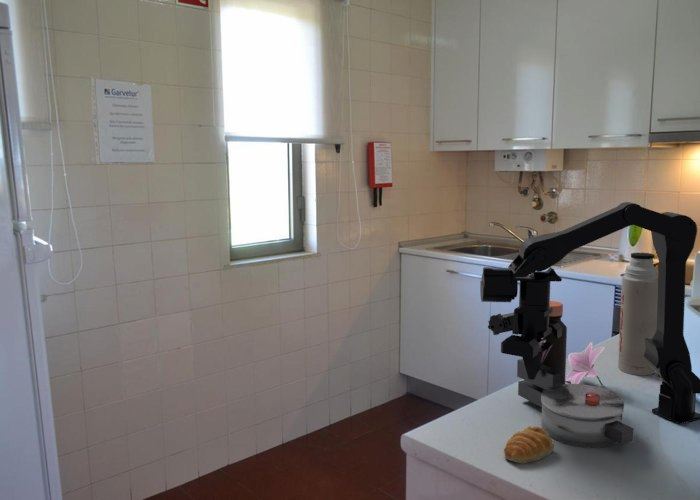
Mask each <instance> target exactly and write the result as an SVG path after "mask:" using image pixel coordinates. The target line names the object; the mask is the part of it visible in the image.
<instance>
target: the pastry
mask: <svg viewBox="0 0 700 500" xmlns="http://www.w3.org/2000/svg"><path fill="white" fill-rule="evenodd" d="M505 445H506V446H505V447H504V450H503V453H504V458H505V459H506V460H509V461H511V462H515V463H516V464H517V463H518V464H520V465H521V464H522V465H523V464H526V463H531V462H537V461H540V460H541V459H543V458H545V457H547V456H548V455H551V453H552V452H553V451H554V450H555V444H554V443H553V441H552V438H551V437H550V436H549V435H548V433H547V432H546V431H545V430H543V429H542V427H540V426H533V427H532V426H528V427H527V428H524V429H523V430H520V431H517V432H515V433H514V434H513V435H512V436H511V437H510V438H509V439H508V441H507V442H506V444H505Z"/></svg>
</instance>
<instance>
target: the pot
mask: <svg viewBox="0 0 700 500" xmlns="http://www.w3.org/2000/svg"><path fill="white" fill-rule="evenodd" d="M517 387H518V388H517V396H519V397H521V398H523V399H525V400H527V401H528V402H531V403H532V404H534V405H536V406H537V407H538V406H539V407H541V429H543V430H545V431H546V432H547V433H548V435H549V437H550V438H551V439H553V440H556V441H557V442H560V443H563V444H565V445H570V446H572V447H573V446H574V447H579V448H586V449H588V448H589V449H599V448H607V447H611V446H614V445H617V444H618V445H619V446H620V445H621V446H623V445H626V444H631V443H632V442H634V433H635V432H634V430H635V428H634V427H631V426H629V425H628V424H625V423H623V413H622V414H621V415H620V416H618V417H616V418H613V419H608V420H600V421H590V420H580V419H574V418H569V417H565V416H562V415H559V414H556V413H554V412H552V411H550V410H549V409H547V408H546V407H545V406H544V405H543V404H542V402H541V393H542V391H543V390H544V389H543V388H541V387H539V386H537V385H534V384H532V383H530V382H528V381H526V380H524V379H522V380H520V381H519V380H518V385H517Z"/></svg>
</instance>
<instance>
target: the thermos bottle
mask: <svg viewBox="0 0 700 500" xmlns="http://www.w3.org/2000/svg"><path fill="white" fill-rule="evenodd" d="M654 259H655V254H654V253H649V252H631V253H630V261H629V265H627V266H626V267H625V270H624V272H625V274H624V275H622V276H621V294H620V296H621V297H620V316H619V317H620V318H619V319H620V320H619V336H618V338H619V339H618V342H619V343H618V357H617V358H618V360H617V361H618V362H617V368H618V370H619V371H621V372H624V373H627V374H629V375H636V376H650V375H653V373H654V374H655V373H656V372H655V371H654V370H653V369H652V368H651V367H650V366H649V364H648V362H647V359H646V358H645V357H644V354H645V350H646V346H645V338H649V339H652V338H653V336H654V335H655V333H656V330H657V301H658V267H656V266H654Z"/></svg>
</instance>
